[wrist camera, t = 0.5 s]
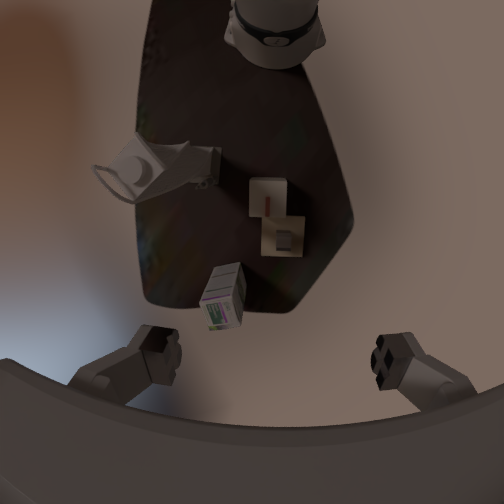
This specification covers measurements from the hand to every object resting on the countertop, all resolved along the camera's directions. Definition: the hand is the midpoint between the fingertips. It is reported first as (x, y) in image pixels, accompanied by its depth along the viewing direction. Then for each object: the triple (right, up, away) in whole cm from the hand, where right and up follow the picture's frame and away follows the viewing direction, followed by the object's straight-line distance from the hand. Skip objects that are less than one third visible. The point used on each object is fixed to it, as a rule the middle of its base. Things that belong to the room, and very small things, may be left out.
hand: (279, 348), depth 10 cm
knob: (+2, +14, +39) cm, 42 cm away
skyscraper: (-11, +21, +38) cm, 45 cm away
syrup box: (-5, -1, +46) cm, 46 cm away
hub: (+5, +7, +42) cm, 42 cm away
